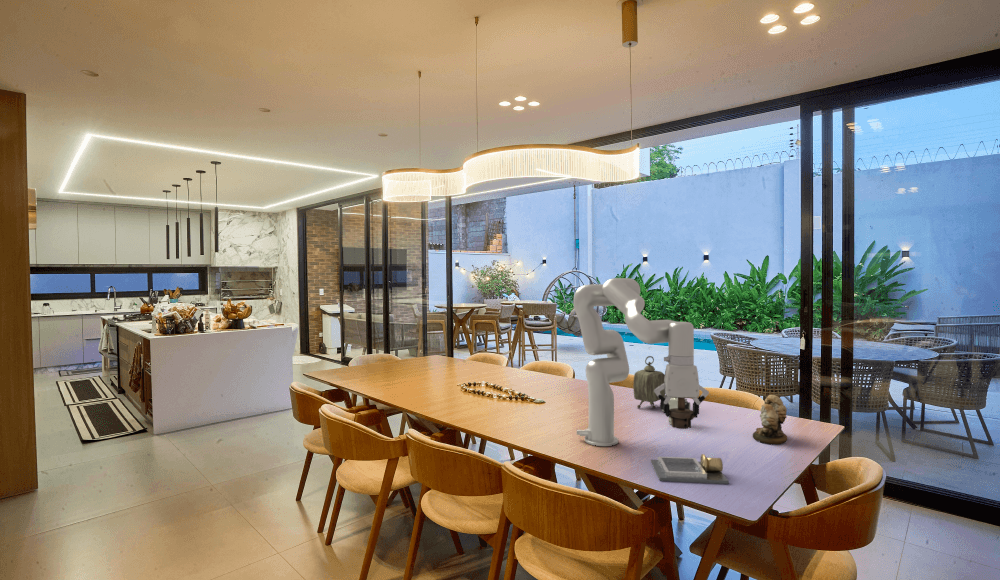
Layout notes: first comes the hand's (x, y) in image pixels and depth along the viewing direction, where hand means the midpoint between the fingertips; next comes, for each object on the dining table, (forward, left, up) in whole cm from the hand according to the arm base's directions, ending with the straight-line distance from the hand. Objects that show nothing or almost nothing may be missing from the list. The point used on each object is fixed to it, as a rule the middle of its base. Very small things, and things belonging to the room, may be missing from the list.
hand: (681, 415), depth 160 cm
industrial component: (-1, 0, -4) cm, 4 cm away
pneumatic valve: (+10, +57, -18) cm, 61 cm away
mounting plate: (+2, 0, -18) cm, 18 cm away
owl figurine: (+42, +41, -18) cm, 62 cm away
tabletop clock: (+4, +85, -18) cm, 87 cm away
